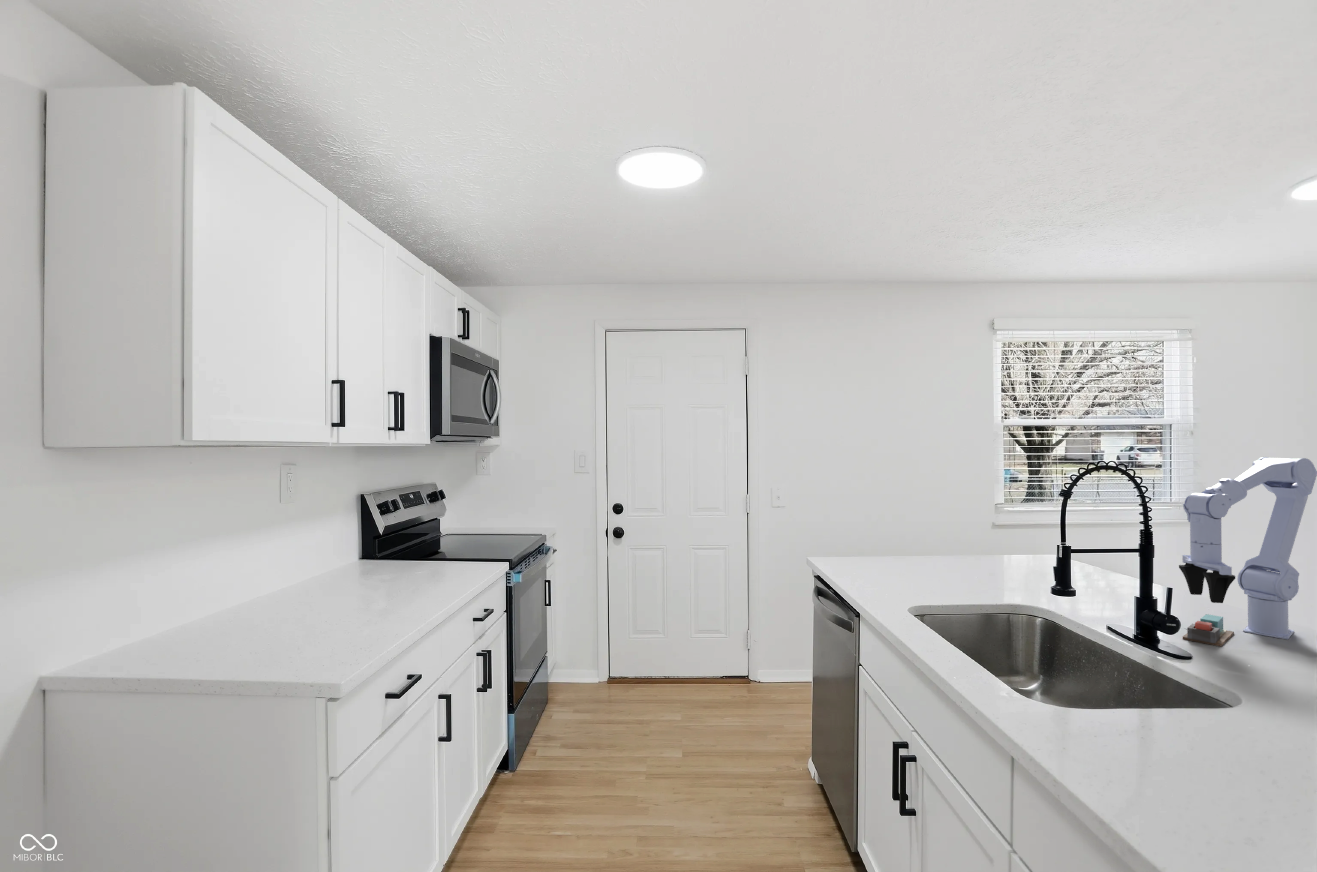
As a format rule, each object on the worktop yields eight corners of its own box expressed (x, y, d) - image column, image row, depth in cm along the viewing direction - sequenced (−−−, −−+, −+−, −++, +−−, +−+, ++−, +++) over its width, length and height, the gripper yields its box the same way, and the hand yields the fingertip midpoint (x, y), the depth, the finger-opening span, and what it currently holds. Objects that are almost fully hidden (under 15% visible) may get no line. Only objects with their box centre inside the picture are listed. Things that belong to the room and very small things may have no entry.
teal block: (1206, 626, 157) (1206, 614, 157) (1223, 629, 154) (1223, 616, 154) (1199, 632, 152) (1198, 619, 152) (1216, 635, 150) (1216, 622, 150)
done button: (1197, 630, 150) (1197, 620, 150) (1212, 633, 148) (1211, 623, 148) (1195, 632, 148) (1194, 622, 148) (1209, 635, 146) (1209, 625, 146)
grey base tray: (1197, 627, 158) (1197, 615, 158) (1234, 633, 153) (1233, 621, 153) (1182, 639, 149) (1181, 626, 149) (1220, 646, 144) (1220, 633, 144)
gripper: (1168, 537, 159) (1169, 590, 159) (1206, 547, 144) (1207, 605, 144) (1200, 538, 157) (1200, 591, 157) (1241, 548, 143) (1242, 606, 143)
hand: (1206, 598), depth 151 cm, fingers open, 7 cm apart
